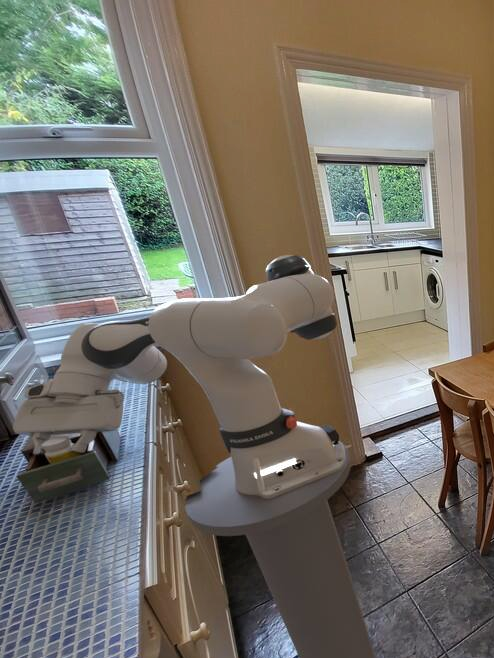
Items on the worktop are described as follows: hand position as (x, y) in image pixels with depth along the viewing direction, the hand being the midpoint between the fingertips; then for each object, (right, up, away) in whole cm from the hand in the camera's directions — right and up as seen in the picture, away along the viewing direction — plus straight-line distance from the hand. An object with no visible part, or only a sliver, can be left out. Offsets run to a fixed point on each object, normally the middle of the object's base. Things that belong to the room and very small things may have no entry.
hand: (58, 453), depth 86 cm
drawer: (+1, -6, +2) cm, 7 cm away
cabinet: (-7, -3, +12) cm, 14 cm away
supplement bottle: (0, -5, +3) cm, 6 cm away
